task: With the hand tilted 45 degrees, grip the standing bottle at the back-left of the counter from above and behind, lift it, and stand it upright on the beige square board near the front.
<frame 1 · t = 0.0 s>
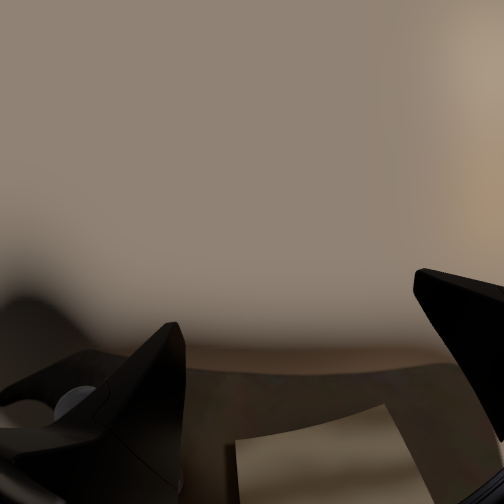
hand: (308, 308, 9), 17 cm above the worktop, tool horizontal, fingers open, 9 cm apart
beige square board: (331, 494, 13), on the worktop
supplement bottle: (155, 481, 16), on the worktop
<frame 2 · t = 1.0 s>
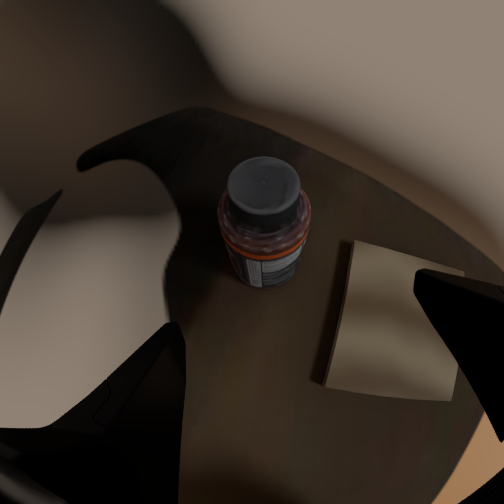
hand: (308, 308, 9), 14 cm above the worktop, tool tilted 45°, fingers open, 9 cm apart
beige square board: (404, 326, 21), on the worktop
supplement bottle: (265, 260, 25), on the worktop
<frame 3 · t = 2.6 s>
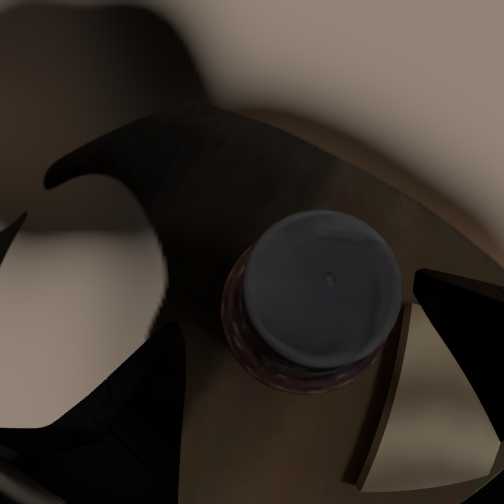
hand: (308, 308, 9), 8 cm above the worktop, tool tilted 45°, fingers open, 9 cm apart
beige square board: (455, 405, 13), on the worktop
supplement bottle: (289, 334, 17), on the worktop
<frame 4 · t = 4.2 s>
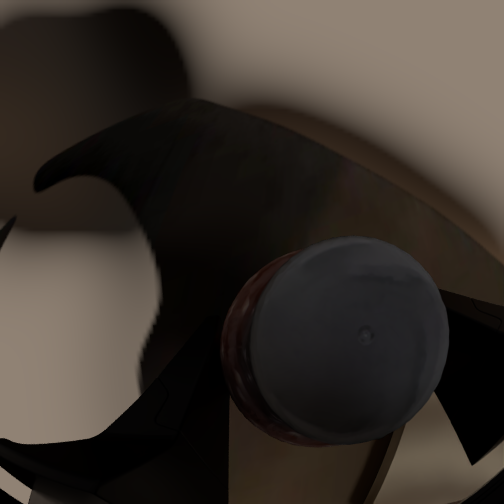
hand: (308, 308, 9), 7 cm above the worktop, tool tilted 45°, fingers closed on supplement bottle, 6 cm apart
beige square board: (466, 422, 11), on the worktop
supplement bottle: (295, 354, 15), on the worktop, touching gripper
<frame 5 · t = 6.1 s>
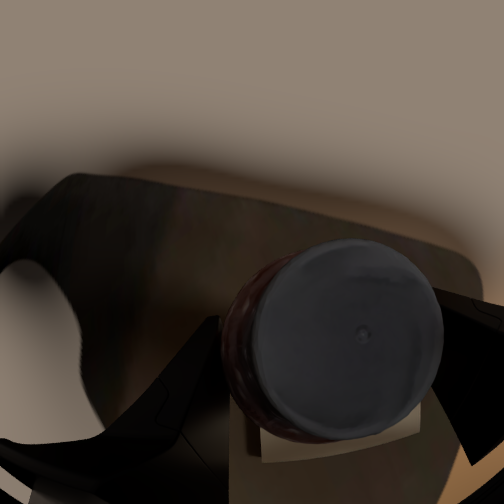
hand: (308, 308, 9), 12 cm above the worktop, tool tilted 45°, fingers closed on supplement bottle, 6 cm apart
beige square board: (341, 374, 19), on the worktop
supplement bottle: (293, 354, 15), point 5 cm above the worktop, touching gripper
when the fingers open (9 cm above the worktop, at t = 8.1 s): supplement bottle stays where it is, resting on beige square board.
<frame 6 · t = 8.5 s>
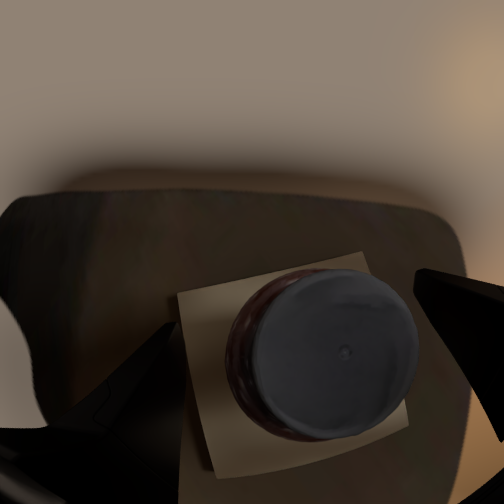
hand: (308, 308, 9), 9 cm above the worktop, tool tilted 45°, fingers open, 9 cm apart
beige square board: (295, 369, 16), on the worktop
supplement bottle: (292, 358, 16), point 1 cm above the worktop, touching beige square board
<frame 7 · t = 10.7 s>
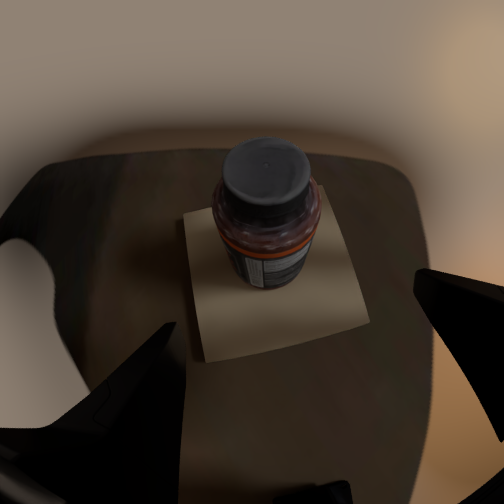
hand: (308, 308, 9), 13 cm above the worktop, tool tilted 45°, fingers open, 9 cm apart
beige square board: (271, 269, 23), on the worktop
supplement bottle: (267, 257, 22), point 1 cm above the worktop, touching beige square board
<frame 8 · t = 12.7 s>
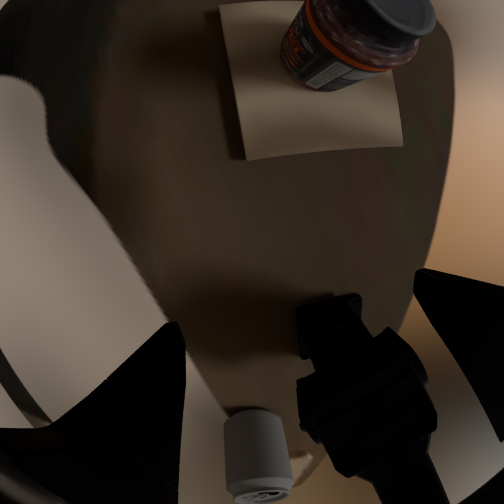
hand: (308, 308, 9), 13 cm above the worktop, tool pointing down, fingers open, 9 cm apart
beige square board: (315, 71, 17), on the worktop
can: (251, 419, 31), on the worktop
supplement bottle: (316, 59, 16), point 1 cm above the worktop, touching beige square board
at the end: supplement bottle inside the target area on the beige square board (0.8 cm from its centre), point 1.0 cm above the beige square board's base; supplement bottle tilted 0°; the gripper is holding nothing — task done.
